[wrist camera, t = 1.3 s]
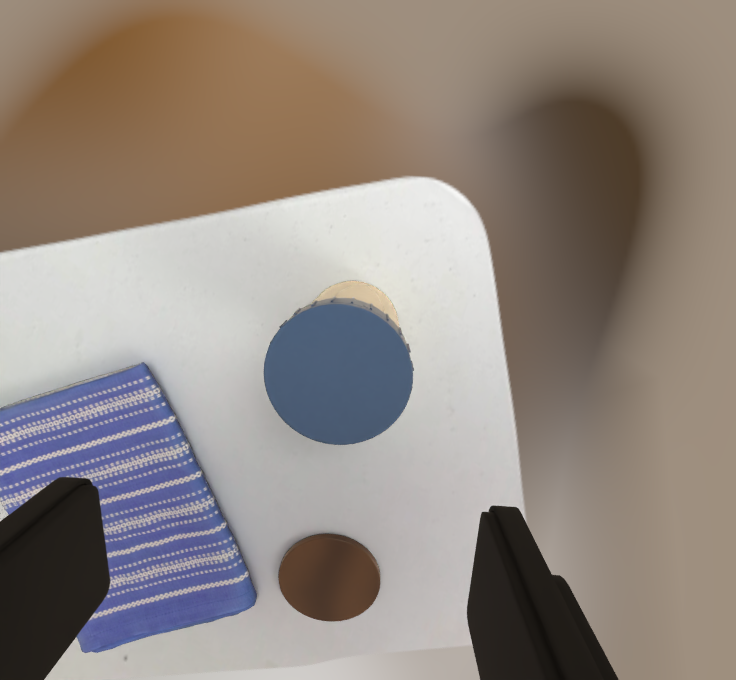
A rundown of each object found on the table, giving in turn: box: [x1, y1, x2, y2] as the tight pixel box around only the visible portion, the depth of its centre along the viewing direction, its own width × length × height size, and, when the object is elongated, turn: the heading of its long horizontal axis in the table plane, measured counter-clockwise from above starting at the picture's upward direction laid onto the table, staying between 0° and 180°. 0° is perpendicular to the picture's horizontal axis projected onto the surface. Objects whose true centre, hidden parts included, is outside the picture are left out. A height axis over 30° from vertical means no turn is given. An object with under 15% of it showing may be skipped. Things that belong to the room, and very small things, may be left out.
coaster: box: [279, 534, 380, 621], centre depth 36 cm, size 9×9×1 cm
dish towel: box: [0, 362, 257, 653], centre depth 34 cm, size 17×24×3 cm
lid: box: [264, 296, 414, 445], centre depth 21 cm, size 7×7×2 cm
